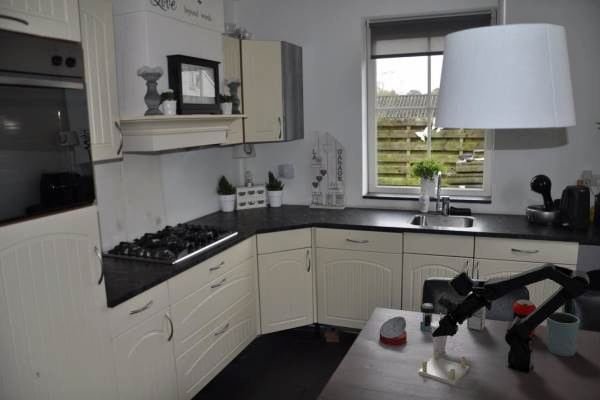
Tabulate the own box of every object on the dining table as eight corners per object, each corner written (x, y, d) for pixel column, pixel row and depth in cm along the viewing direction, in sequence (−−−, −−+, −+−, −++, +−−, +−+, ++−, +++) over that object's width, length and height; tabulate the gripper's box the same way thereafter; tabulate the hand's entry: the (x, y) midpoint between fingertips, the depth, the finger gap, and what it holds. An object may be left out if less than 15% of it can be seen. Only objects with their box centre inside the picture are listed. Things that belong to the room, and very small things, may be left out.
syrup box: (485, 325, 195) (486, 290, 192) (481, 331, 190) (483, 295, 188) (470, 322, 198) (471, 287, 195) (466, 328, 193) (467, 292, 191)
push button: (435, 326, 196) (436, 301, 194) (439, 332, 191) (440, 307, 189) (418, 326, 196) (419, 302, 194) (422, 332, 191) (422, 307, 189)
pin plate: (469, 369, 163) (469, 357, 162) (455, 385, 154) (455, 373, 153) (433, 358, 170) (434, 347, 170) (418, 373, 161) (418, 362, 160)
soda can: (513, 335, 186) (514, 305, 184) (511, 327, 193) (513, 297, 191) (535, 338, 183) (537, 307, 181) (533, 329, 190) (534, 299, 188)
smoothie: (435, 355, 172) (436, 317, 170) (426, 347, 179) (427, 310, 176) (452, 352, 174) (453, 314, 172) (442, 344, 180) (443, 308, 178)
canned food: (405, 356, 183) (409, 339, 176) (377, 351, 184) (380, 335, 178) (405, 330, 191) (409, 313, 185) (379, 326, 193) (381, 310, 187)
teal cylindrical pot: (579, 358, 168) (582, 325, 166) (546, 354, 171) (548, 321, 169) (574, 345, 177) (576, 313, 175) (542, 341, 181) (544, 310, 178)
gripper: (458, 279, 178) (426, 303, 186) (446, 296, 162) (412, 322, 169) (480, 303, 176) (447, 327, 183) (470, 323, 160) (435, 349, 167)
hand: (435, 330), depth 176 cm, fingers open, 9 cm apart
